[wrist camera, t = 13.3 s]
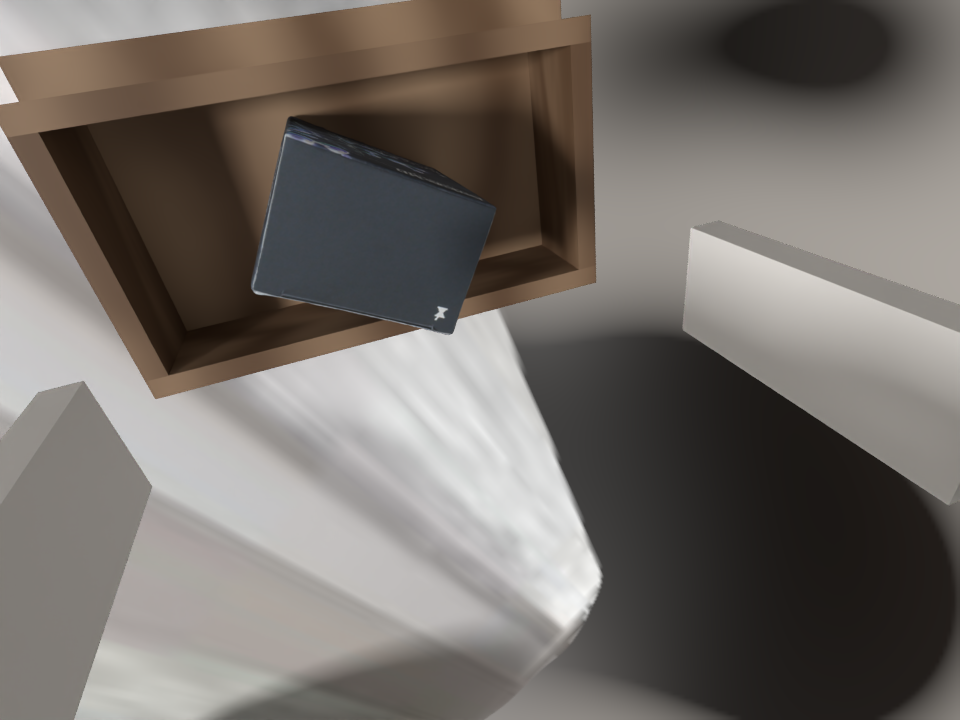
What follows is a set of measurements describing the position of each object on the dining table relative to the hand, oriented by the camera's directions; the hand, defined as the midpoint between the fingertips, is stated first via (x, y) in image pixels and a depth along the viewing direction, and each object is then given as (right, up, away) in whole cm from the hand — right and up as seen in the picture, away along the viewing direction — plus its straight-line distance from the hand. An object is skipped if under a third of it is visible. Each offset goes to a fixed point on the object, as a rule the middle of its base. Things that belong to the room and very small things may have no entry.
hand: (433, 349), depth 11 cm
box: (-6, +9, +16) cm, 19 cm away
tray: (-6, +9, +17) cm, 20 cm away
